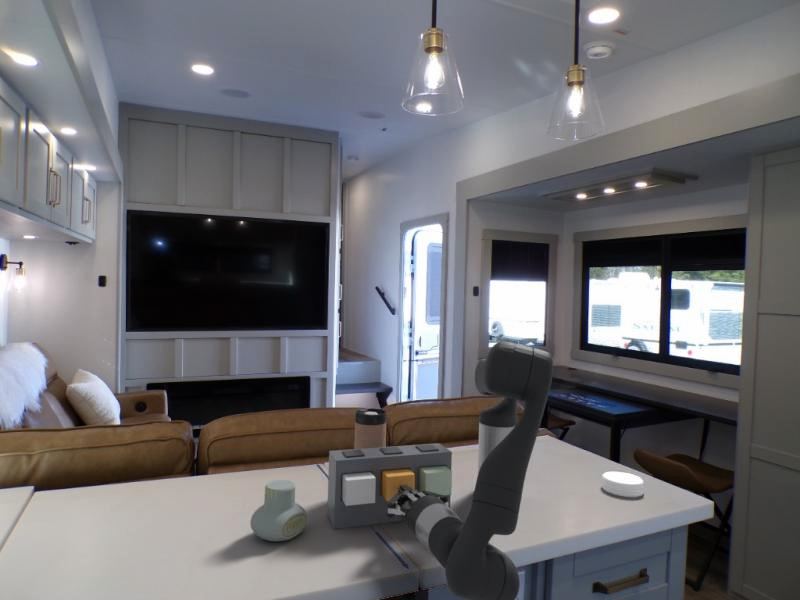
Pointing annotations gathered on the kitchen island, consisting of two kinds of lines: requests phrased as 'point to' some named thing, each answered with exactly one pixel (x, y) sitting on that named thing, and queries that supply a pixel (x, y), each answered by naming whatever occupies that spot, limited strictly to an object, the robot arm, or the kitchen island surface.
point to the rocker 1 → (358, 488)
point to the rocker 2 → (435, 479)
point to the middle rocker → (395, 481)
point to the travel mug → (370, 429)
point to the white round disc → (622, 484)
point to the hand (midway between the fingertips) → (402, 489)
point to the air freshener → (279, 513)
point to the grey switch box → (375, 463)
